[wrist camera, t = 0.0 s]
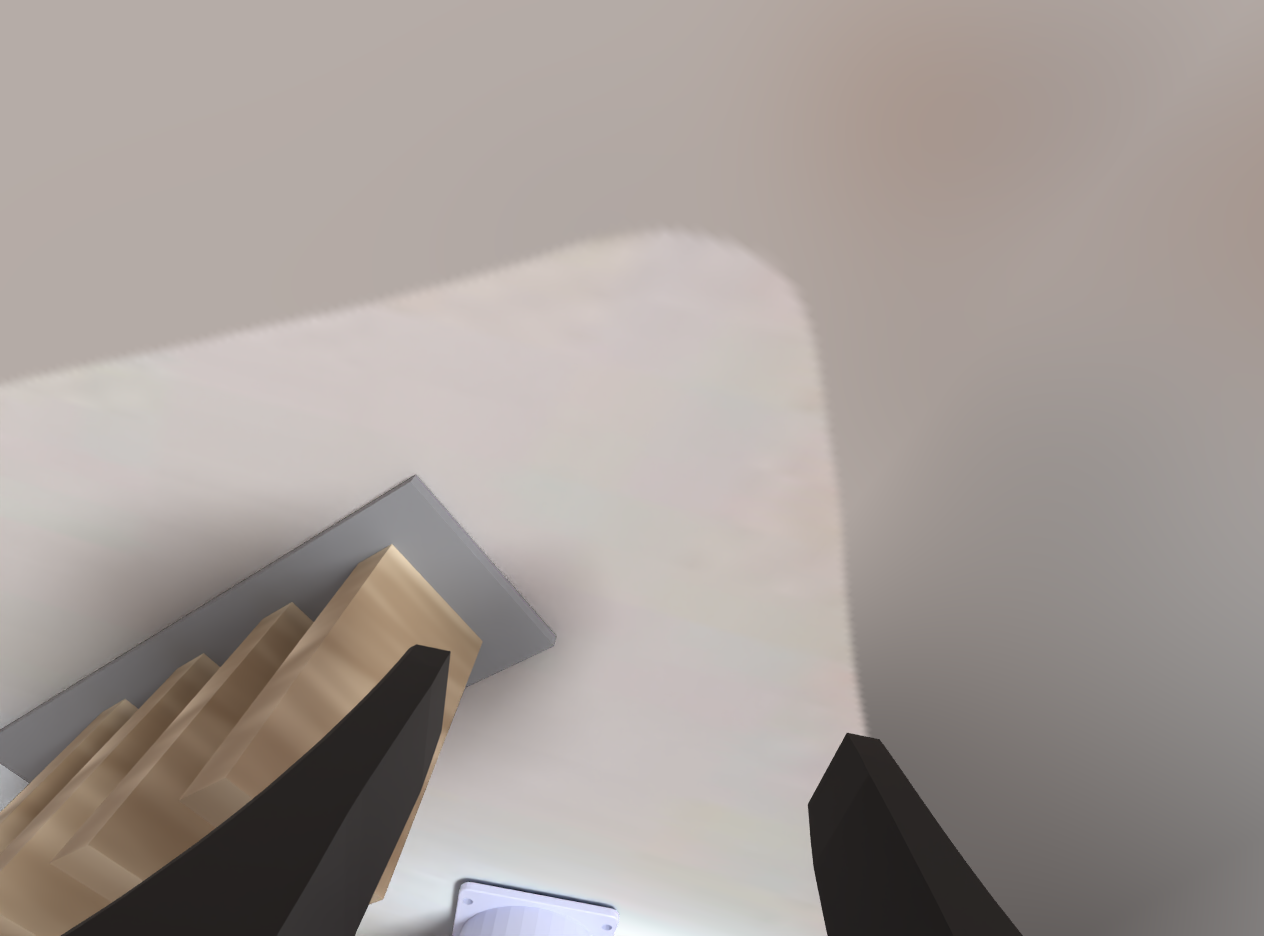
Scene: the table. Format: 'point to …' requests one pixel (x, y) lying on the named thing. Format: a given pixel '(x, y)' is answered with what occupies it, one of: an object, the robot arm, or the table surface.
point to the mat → (310, 585)
